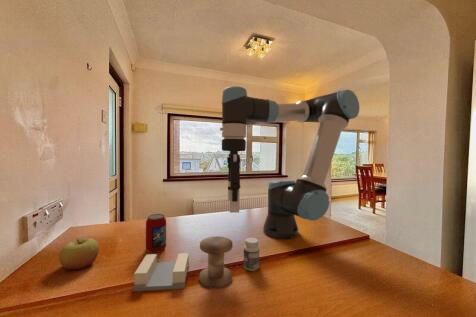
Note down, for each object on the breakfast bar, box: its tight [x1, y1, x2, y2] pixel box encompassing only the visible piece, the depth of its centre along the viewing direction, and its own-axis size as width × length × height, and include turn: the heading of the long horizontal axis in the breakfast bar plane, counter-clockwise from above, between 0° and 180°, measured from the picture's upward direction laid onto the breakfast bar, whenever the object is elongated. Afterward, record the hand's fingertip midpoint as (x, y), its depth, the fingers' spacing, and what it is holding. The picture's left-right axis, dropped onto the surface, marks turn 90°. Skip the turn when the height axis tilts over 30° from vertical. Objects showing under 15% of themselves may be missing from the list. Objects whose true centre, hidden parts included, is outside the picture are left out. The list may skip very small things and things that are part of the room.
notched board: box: [132, 252, 190, 292], centre depth 61 cm, size 12×12×4 cm
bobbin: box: [199, 236, 233, 289], centre depth 60 cm, size 9×9×10 cm
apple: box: [58, 237, 100, 271], centre depth 65 cm, size 10×10×8 cm
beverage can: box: [145, 213, 167, 254], centre depth 77 cm, size 7×7×12 cm
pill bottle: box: [243, 237, 260, 271], centre depth 66 cm, size 5×5×8 cm
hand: (232, 206), depth 68 cm, fingers open, 13 cm apart
